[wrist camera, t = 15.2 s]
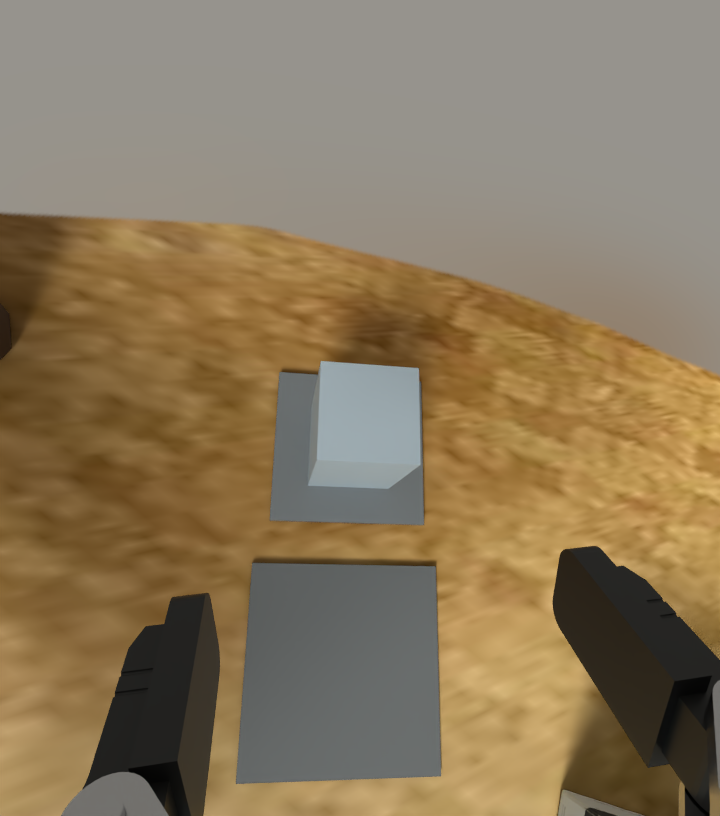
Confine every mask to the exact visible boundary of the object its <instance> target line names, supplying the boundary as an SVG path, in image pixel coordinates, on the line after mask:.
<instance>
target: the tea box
mask: <svg viewBox="0 0 720 816" xmlns="http://www.w3.org/2000/svg"><path fill="white" fill-rule="evenodd" d="M558 816H644V815H641V814H638V813H635V812H632V811H628V810H624V809H622V808H619V807H616V806H613V805H610V804H607V803H605V802H602V801H598V800H595V799H592V798H589V797H586V796H582V795H579V794H576V793H573V792H571V791H567V790H563V791H562V794H561V800H560V805H559V811H558Z"/></svg>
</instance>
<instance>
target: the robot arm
mask: <svg viewBox="0 0 720 816" xmlns="http://www.w3.org/2000/svg"><path fill="white" fill-rule="evenodd" d="M553 611H554V615H555V619H556V621H557V624H558V626H559V628H560V630H561V631H562V633H563V634H564V636H565V638H566V639H567V641H568V642H569V644H570V645H571V647H572V649H573V650H574V652H575V653H576V655H577V657H578V658H579V660H580V661H581V663H582V664H583V666H584V668H585V669H586V671H587V672H588V674H589V676H590V677H591V679H592V680H593V682H594V683H595V685H596V687H597V688H598V690H599V691H600V693H601V695H602V696H603V698H604V699H605V701H606V702H607V704H608V706H609V707H610V709H611V710H612V712H613V714H614V715H615V717H616V718H617V720H618V721H619V723H620V725H621V726H622V728H623V729H624V731H625V732H626V734H627V736H628V737H629V739H630V740H631V742H632V744H633V745H634V747H635V748H636V750H637V751H638V753H639V755H640V756H641V758H642V759H643V761H644V763H645V764H646V766H647V767H648V768H649V767H655V766H660V765H666V764H670V765H671V766H672V768H673V769H674V771H675V772H676V774H677V775H678V777H679V778H680V780H681V781H680V784H679V816H720V660H719V659H718V658H717V657H716V656H715V655H714V653H713V652H712V651H711V650H710V649H709V648H708V647H707V646H706V645H705V644H704V643H703V642H702V640H701V639H700V638H699V637H698V636H697V635H696V634H695V633H694V632H693V631H692V630H691V629H690V627H689V626H688V625H687V624H686V623H685V622H684V621H683V620H682V619H681V618H680V617H677V616H676V612H675V611H674V610H673V609H672V608H671V607H670V606H669V605H668V604H667V603H666V602H663V600H662V597H661V596H660V595H659V594H658V593H657V592H656V591H655V590H654V588H653V587H652V586H651V585H650V584H649V583H648V582H647V581H646V580H645V579H643V578H642V577H640V576H638V575H637V574H635V573H634V572H632V571H631V570H629V569H628V568H626V567H624V566H618V567H616V565H615V564H614V563H613V562H612V561H611V560H610V559H609V557H608V556H607V555H606V554H605V553H604V552H603V551H602V550H601V549H600V548H599V547H597V546H590V547H581V548H573V549H565V550H563V551H562V552H561V554H560V558H559V564H558V570H557V577H556V583H555V589H554V595H553ZM219 672H220V655H219V644H218V638H217V633H216V627H215V621H214V616H213V610H212V604H211V599H210V595H209V594H208V593H202V594H194V595H186V596H177V597H172V599H171V601H170V604H169V608H168V612H167V616H166V620H165V624H161V625H153V626H146V627H145V628H144V629H143V631H142V632H141V633H140V634H139V636H138V637H137V638H136V640H135V641H134V642H133V643H132V645H131V646H130V647H129V649H128V652H127V655H126V658H125V662H124V665H123V668H122V671H121V677H120V678H119V681H118V684H117V687H116V690H115V697H113V700H112V703H111V706H110V709H109V713H108V716H107V719H106V722H105V725H104V728H103V732H102V735H101V738H100V741H99V744H98V748H97V751H96V754H95V757H94V760H93V763H92V767H91V770H90V773H89V776H88V778H87V781H86V783H85V785H84V787H83V789H82V791H80V792H79V793H78V794H77V795H76V796H75V797H74V798H73V799H72V801H71V802H70V803H69V804H68V806H67V807H66V808H65V810H64V812H63V813H62V815H61V816H203V814H204V805H205V796H206V787H207V779H208V770H209V761H210V752H211V744H212V735H213V726H214V717H215V709H216V700H217V691H218V682H219Z"/></svg>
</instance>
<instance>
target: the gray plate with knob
mask: <svg viewBox="0 0 720 816" xmlns="http://www.w3.org/2000/svg"><path fill="white" fill-rule="evenodd" d="M317 378H318V375H315V374H300V373H286V372H280V373H279V388H278V403H277V418H276V433H275V448H274V464H273V479H272V494H271V509H270V521H291V522H324V523H358V524H391V525H424V504H423V453H422V402H421V382H419V404H420V461H421V465H420V466H418V467H417V468H416V469H414V470H413V471H412V472H410V473H409V474H408V475H406V476H405V477H404V478H402V479H401V480H400V481H398V482H397V483H396V484H394V485H393V486H392V487H390V488H389V489H379V488H354V487H329V486H308V469H309V448H310V426H311V407H312V402H313V397H314V392H315V387H316V383H317Z"/></svg>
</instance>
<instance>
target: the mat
mask: <svg viewBox="0 0 720 816" xmlns="http://www.w3.org/2000/svg"><path fill="white" fill-rule="evenodd" d="M433 776H441V755H440V716H439V677H438V638H437V599H436V566H387V565H335V564H282V563H252V573H251V587H250V600H249V614H248V627H247V641H246V654H245V668H244V681H243V695H242V708H241V722H240V735H239V749H238V762H237V776H236V784H245V783H272V782H298V781H325V780H352V779H379V778H406V777H433Z"/></svg>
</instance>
